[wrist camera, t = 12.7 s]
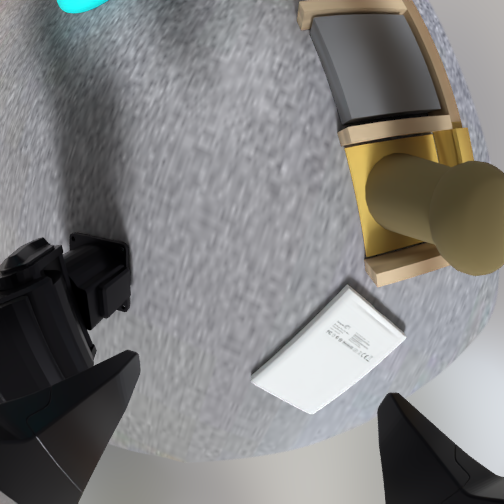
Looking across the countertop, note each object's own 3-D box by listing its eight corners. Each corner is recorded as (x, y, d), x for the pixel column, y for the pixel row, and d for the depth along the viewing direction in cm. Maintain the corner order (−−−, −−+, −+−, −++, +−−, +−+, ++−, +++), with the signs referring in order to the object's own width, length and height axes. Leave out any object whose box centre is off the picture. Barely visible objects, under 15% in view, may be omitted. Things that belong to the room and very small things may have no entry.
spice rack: (365, 271, 20) (379, 290, 17) (296, 20, 15) (299, -3, 12) (457, 244, 19) (480, 257, 15) (399, 15, 13) (415, -3, 10)
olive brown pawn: (384, 246, 19) (463, 320, 9) (350, 174, 18) (429, 190, 8) (443, 210, 18) (541, 253, 8) (414, 140, 17) (518, 133, 6)
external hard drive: (251, 371, 25) (345, 280, 21) (312, 405, 26) (402, 329, 22) (249, 382, 24) (350, 289, 20) (313, 415, 24) (408, 339, 21)
